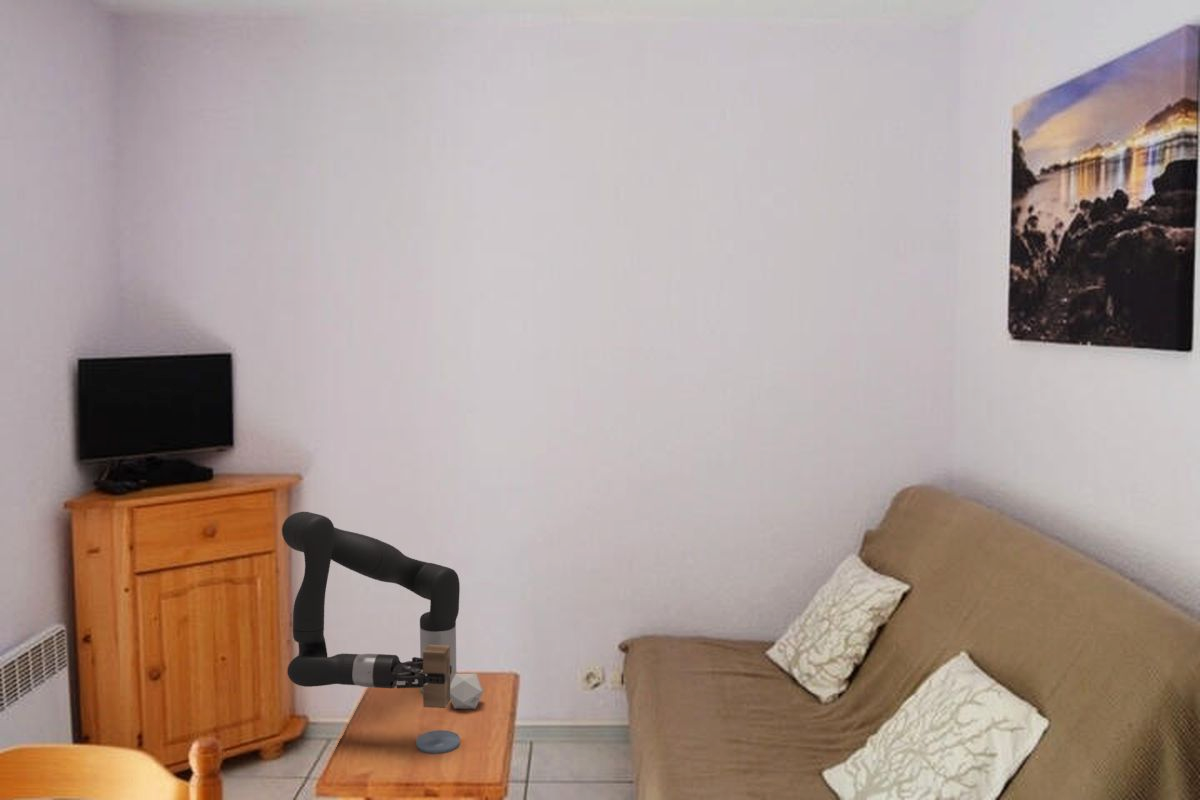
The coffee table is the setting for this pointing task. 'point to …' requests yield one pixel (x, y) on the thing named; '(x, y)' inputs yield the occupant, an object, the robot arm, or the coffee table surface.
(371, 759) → the coffee table surface
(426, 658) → the walnut block
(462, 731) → the coffee table surface
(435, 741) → the slate dish
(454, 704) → the die
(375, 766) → the coffee table surface
